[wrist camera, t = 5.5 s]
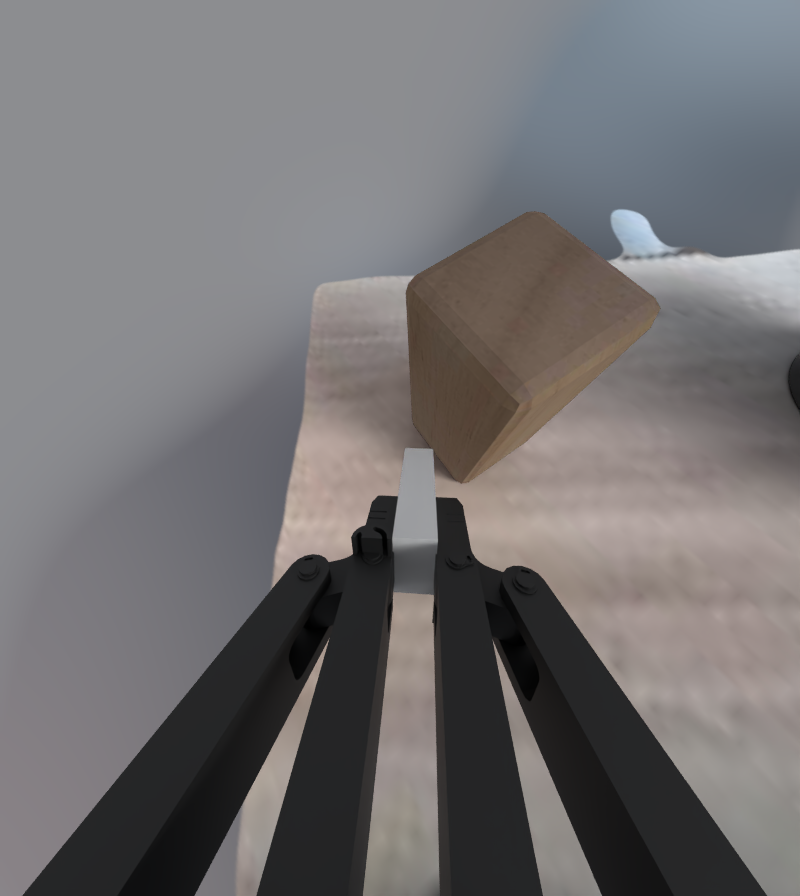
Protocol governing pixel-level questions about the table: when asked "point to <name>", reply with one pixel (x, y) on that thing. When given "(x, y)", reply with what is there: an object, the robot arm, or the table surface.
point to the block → (513, 338)
